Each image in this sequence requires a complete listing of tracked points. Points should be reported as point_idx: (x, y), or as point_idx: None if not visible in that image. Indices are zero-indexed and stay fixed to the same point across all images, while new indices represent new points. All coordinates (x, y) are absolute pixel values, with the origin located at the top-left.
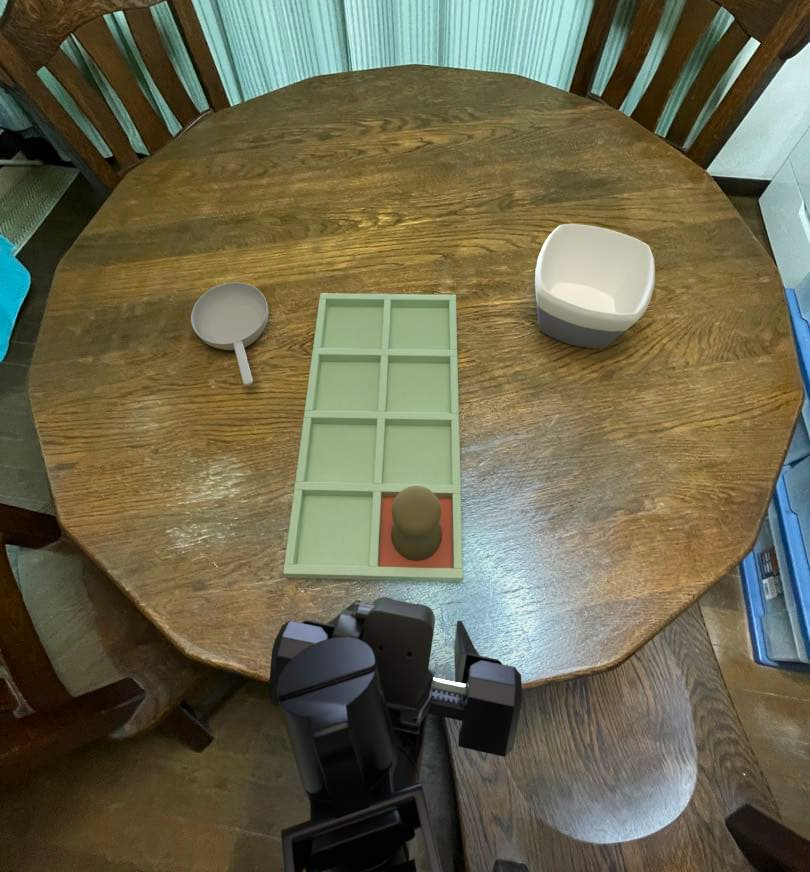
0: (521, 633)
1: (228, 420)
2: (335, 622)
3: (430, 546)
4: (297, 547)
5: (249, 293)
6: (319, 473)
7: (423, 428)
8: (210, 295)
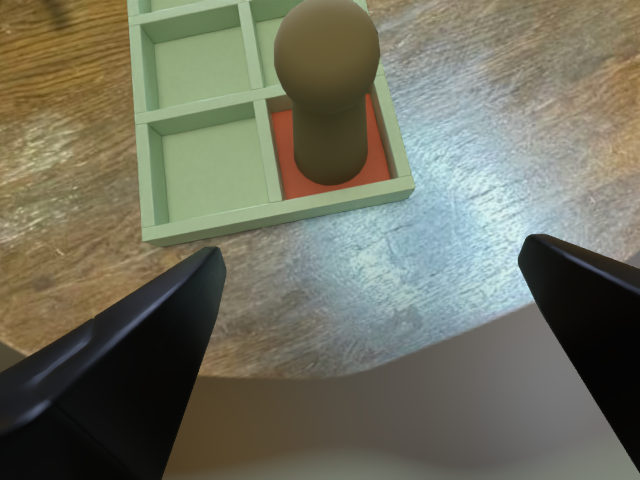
0: (507, 245)
1: (38, 68)
2: (34, 368)
3: (358, 150)
4: (163, 204)
5: None
6: (176, 104)
7: None
8: None
